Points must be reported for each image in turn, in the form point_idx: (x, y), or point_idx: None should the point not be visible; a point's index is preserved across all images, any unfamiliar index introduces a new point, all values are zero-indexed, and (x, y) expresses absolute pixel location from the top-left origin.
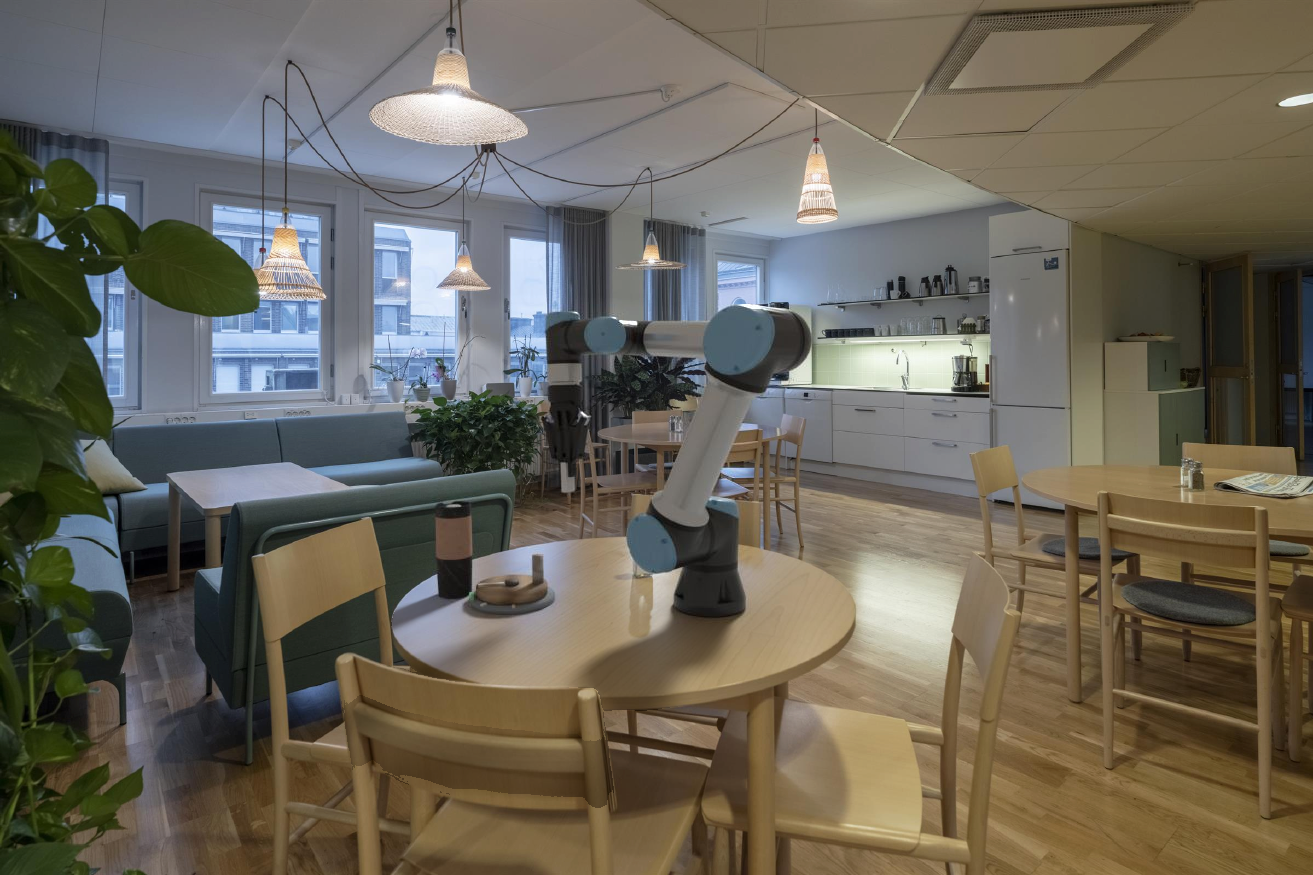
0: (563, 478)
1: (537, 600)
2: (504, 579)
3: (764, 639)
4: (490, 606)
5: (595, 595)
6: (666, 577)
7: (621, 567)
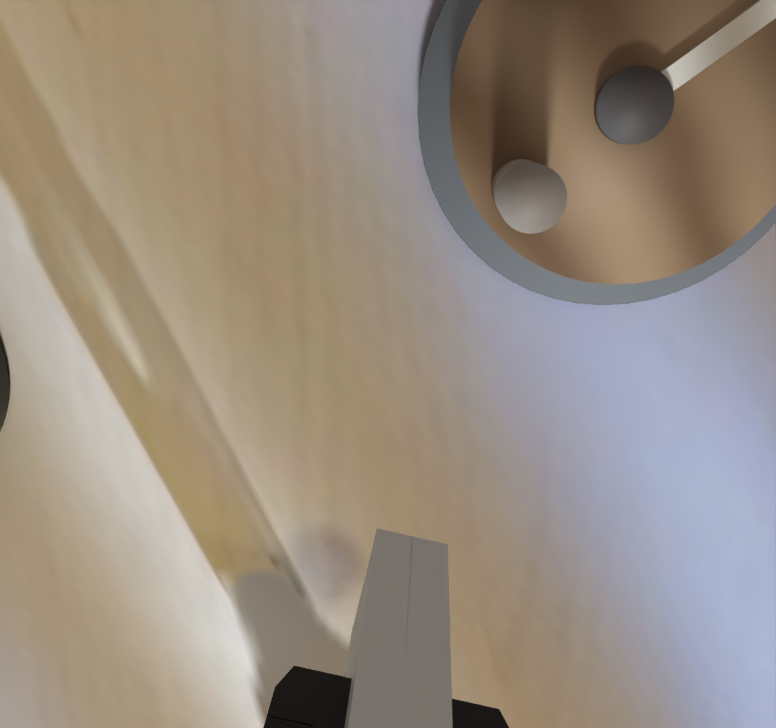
0: (410, 644)
1: None
2: (711, 166)
3: None
4: None
5: (309, 314)
6: (179, 603)
7: None
